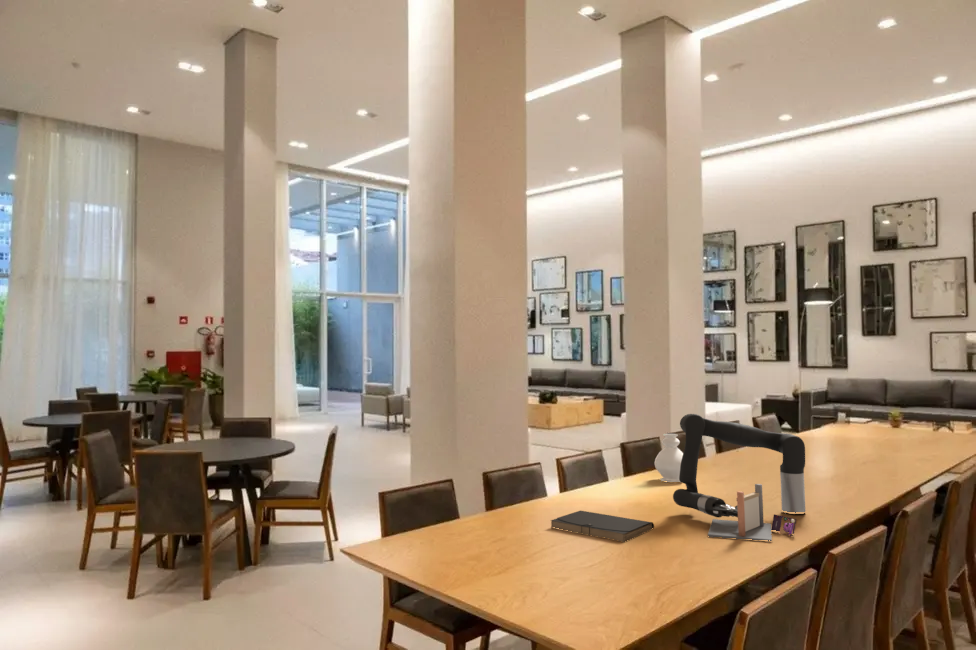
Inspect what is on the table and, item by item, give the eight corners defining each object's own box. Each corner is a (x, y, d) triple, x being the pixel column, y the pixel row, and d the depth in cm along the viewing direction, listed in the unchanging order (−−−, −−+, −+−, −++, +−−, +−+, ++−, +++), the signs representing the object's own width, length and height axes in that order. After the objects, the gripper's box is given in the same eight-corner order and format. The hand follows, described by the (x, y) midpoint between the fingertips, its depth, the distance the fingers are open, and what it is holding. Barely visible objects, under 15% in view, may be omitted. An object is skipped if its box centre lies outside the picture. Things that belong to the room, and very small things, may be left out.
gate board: (712, 521, 265) (711, 479, 266) (771, 526, 256) (769, 482, 257) (707, 536, 243) (706, 491, 244) (771, 542, 234) (769, 495, 235)
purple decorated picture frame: (772, 513, 249) (794, 518, 242) (780, 516, 252) (802, 521, 244) (769, 531, 248) (791, 536, 240) (777, 533, 250) (799, 539, 243)
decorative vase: (692, 479, 354) (691, 433, 356) (683, 485, 339) (682, 437, 341) (660, 476, 364) (659, 431, 365) (650, 482, 349) (649, 435, 350)
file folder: (550, 519, 259) (582, 508, 278) (550, 529, 259) (583, 518, 277) (623, 532, 238) (653, 520, 256) (624, 544, 238) (654, 531, 256)
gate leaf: (755, 524, 253) (754, 492, 253) (760, 525, 251) (759, 492, 252) (737, 532, 243) (736, 497, 244) (742, 533, 242) (741, 498, 242)
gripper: (698, 497, 260) (728, 507, 244) (724, 494, 265) (755, 503, 249) (698, 516, 260) (728, 527, 244) (724, 513, 265) (756, 523, 248)
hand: (742, 515), depth 246 cm, fingers closed
